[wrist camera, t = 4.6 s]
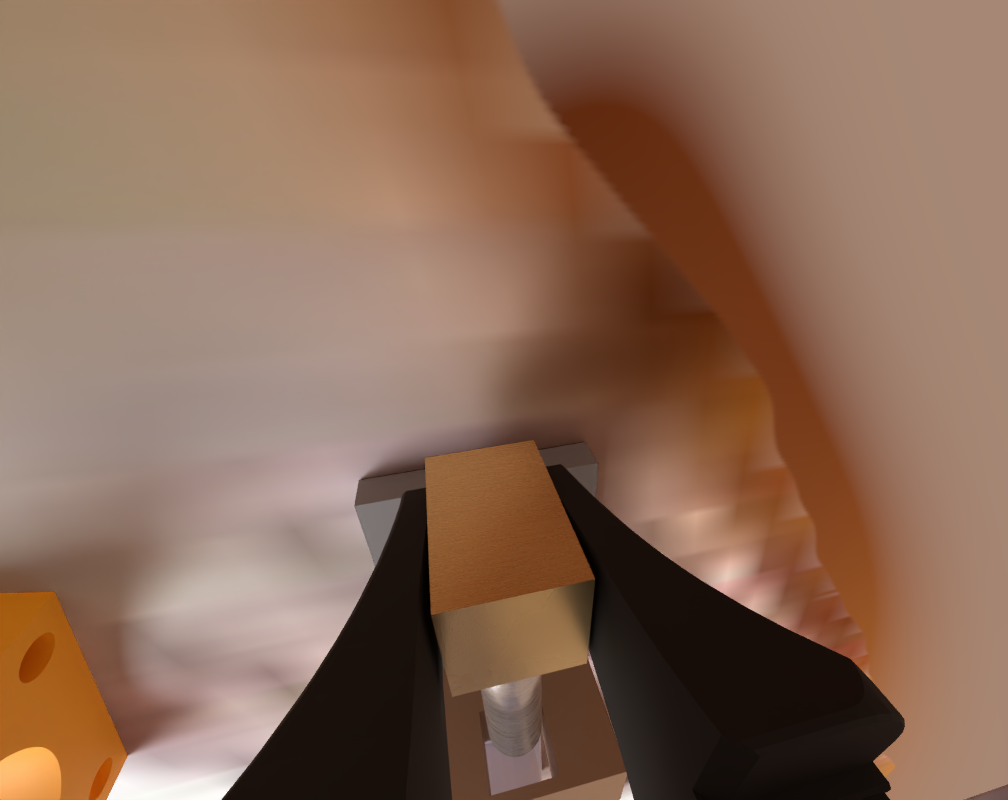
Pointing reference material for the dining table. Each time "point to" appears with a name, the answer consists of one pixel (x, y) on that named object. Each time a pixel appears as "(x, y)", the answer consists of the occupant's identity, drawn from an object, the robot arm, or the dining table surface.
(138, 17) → the dining table surface
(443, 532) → the pin
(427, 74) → the dining table surface
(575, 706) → the eye block
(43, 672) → the pipe clamp
